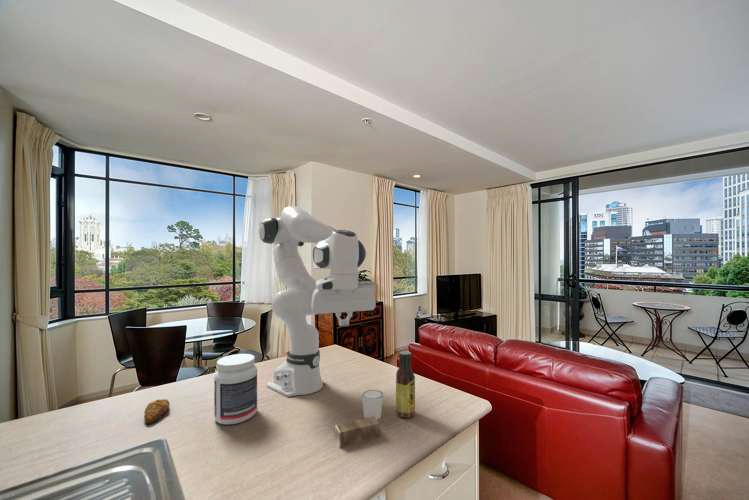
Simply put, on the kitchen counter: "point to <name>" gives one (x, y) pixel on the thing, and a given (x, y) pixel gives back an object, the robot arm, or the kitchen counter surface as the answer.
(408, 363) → the sauce bottle
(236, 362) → the supplement tub
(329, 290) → the robot arm
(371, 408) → the white tapered cylinder
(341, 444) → the walnut block
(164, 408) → the croissant
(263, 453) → the kitchen counter surface
